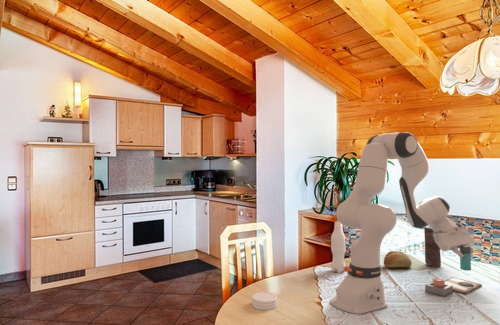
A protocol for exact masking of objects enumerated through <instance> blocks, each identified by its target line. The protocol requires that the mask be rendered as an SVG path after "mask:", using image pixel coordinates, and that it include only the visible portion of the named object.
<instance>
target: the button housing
mask: <svg viewBox="0 0 500 325" xmlns="http://www.w3.org/2000/svg"><path fill="white" fill-rule="evenodd" d="M424 290H425V292H426V293H429V294H432V295H436V296H439V297H442V298H444V297H447V296H449V295H451V294H453V292H454V291H453V289H452V285H448V284H445V287H444V288H440V287H436V286H433V280H432V281H430V282H427V283H426V284H424Z"/></svg>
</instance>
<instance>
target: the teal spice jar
mask: <svg viewBox="0 0 500 325" xmlns="http://www.w3.org/2000/svg"><path fill="white" fill-rule="evenodd" d="M459 251H460V252H463V253H464V255H465V256H464V257H463V258H460V257H459V259H460V260H459V262H460V263H459V264H460V265H459V268H460V270H462V271H466V272H467V271H472V255H471V252H472V246H466V245H462V246H460V248H459Z"/></svg>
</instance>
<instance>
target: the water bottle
mask: <svg viewBox="0 0 500 325" xmlns="http://www.w3.org/2000/svg"><path fill="white" fill-rule="evenodd" d="M330 239H331V240H330V243H331V244H330V245H331V246H330V247H331V248H330V250H331V253H332V262H331V263H330V264H331V266H330V267H331V270H332V271H333V273H336V272H337V273H338V274H341V273H345V271H344V268H345V266H347V265H346V263H345V253H346V250H347V249H346V239H347V238H346V235H345V233H344V231H343V229H342V224H341V223H340V222H339V221H338V220H337V221H335V222H334V228H333V232H332V233H331V236H330Z"/></svg>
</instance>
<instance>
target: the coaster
mask: <svg viewBox="0 0 500 325" xmlns="http://www.w3.org/2000/svg"><path fill="white" fill-rule="evenodd" d="M251 305H252V307H253V308H254V309H257V310H259V311H260V310H261V311H269V310H273V309H275V308H277V307H278V296H277V294H275V293H273V292H268V291H261V292H256V293H254V294H253V295H252V297H251Z"/></svg>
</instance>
